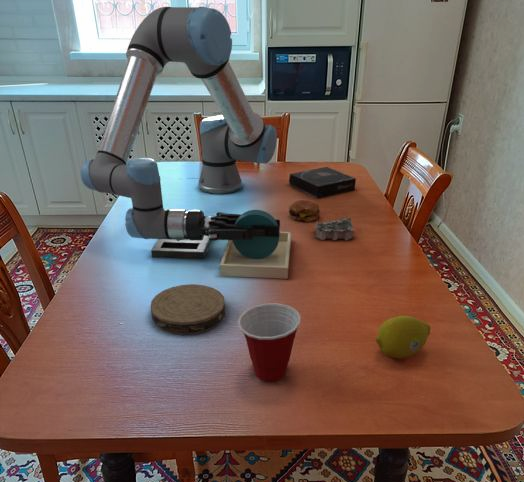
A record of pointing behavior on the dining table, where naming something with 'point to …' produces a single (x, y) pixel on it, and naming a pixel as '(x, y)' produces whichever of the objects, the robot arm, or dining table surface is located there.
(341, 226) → the egg carton
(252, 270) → the tray
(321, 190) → the black box
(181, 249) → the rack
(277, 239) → the disc
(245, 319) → the plastic cup
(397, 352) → the lemon
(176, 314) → the wood log slice
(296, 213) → the burger
